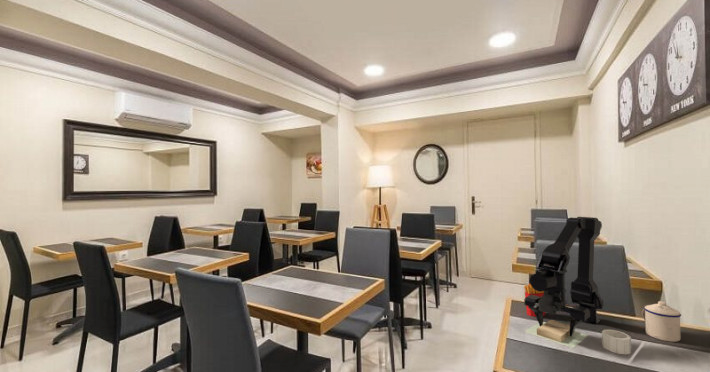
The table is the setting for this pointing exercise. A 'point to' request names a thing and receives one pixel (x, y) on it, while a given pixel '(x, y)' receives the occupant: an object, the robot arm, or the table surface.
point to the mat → (568, 341)
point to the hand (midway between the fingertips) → (555, 331)
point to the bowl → (616, 341)
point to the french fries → (531, 291)
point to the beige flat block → (554, 330)
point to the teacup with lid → (662, 322)
